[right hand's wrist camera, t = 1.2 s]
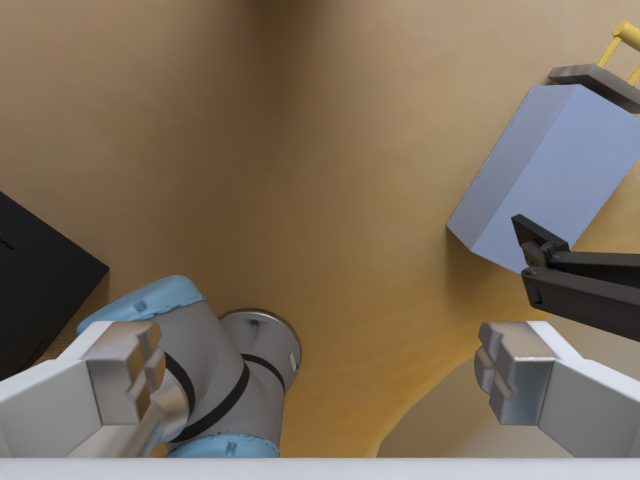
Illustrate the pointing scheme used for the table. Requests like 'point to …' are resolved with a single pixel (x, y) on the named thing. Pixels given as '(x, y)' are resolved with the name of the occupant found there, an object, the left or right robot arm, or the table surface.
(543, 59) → the table surface
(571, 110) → the cabinet
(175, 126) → the table surface
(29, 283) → the black tall box
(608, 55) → the drawer
